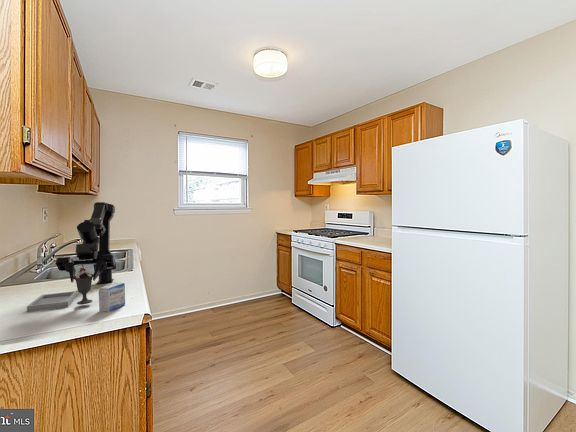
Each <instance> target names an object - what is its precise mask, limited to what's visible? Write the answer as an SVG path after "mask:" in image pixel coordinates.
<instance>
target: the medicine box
mask: <svg viewBox="0 0 576 432" xmlns="http://www.w3.org/2000/svg"><path fill="white" fill-rule="evenodd" d="M125 286H126V284H125V282H114V283H113V282H112V283H109V284H107V285H105V286H102V287H99V288H98V310H99V312H106V313H107V312H108V313H110V312H112V311H114V310H116V309H118V308H122V307H123V306H125V305H126V293H125V292H126V287H125Z"/></svg>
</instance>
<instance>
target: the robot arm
mask: <svg viewBox="0 0 576 432" xmlns="http://www.w3.org/2000/svg"><path fill="white" fill-rule="evenodd" d="M115 207H116V206H115V205H114V204H112V203H108V202H105V201H104V202H103V201H102V202H101V201H96V202H94V204H93V210H92V214H91V217H90V219H84V221H82V222H80V223H79V224H78V225H77V226H76V230H77V232H78V235H79V238H80V240H81V241H82V242H81V243H78V244H76V246H75V254H76V258H77V259H72V258H71V256H60V257H59V256H58V257H57V258H56V260H55V263H54V264H55V266H56V267H57V269H58V270H59V271H60V272H64V271H65V272H67V273H69V274H68V275H69V279H70V282H71V283H74V281H75V279H73V277H74V276H76V271H77V270H76V267H75V266H82V265H83V266H87V265H90V266H91V265H93V271H94V272H93V278H92V282H93V281H94V282H95V281H96V280H97V279H98V281H97V282H96V284H97V285H100V284H108V283H109V284H112V283H113V281H114V280H115V279H114V278H113V271H115V270H117V263H116V260H115V256H114V254H113V253H112V251H111V250H110V241H111V239H110V235H111V233H110V232H111V231H110V229H111V221H112V219H113V218H114V214H115V212H116V208H115ZM81 263H82V264H81Z"/></svg>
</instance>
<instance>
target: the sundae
mask: <svg viewBox="0 0 576 432" xmlns="http://www.w3.org/2000/svg"><path fill="white" fill-rule="evenodd" d="M81 264H82V263H81ZM93 275H94V273H93V274H92V273H90V272H89V270H87V269H85V268H84V265H81V268H80V269H79V271H78V272H77V274H76V275H75V276H74V277H73V279H74V281H75V283H76V288H77V292H78V293H80V294H81V295H82V298H81V300H80V301H77V302H76V304H77V305H80V306H81V305H87V304H91V303H92V302H93V299H88V296H87V294H88V293H89V291H91V288H92V282H93Z"/></svg>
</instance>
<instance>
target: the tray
mask: <svg viewBox="0 0 576 432" xmlns="http://www.w3.org/2000/svg"><path fill="white" fill-rule="evenodd" d="M77 297H78V290H76V291H75V290H74V291H65V292H54V293H46V294H41V295H40V296H38V297H37V298H36V299H34V300H33V301H32V302H30V303H29V304H28V305H27V306H26V313H29V312H36V311H45V310H52V309H60V308H62V309H63V308H69V306H70V305H72V303H73V302H74V300H75V299H76V298H77Z"/></svg>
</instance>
